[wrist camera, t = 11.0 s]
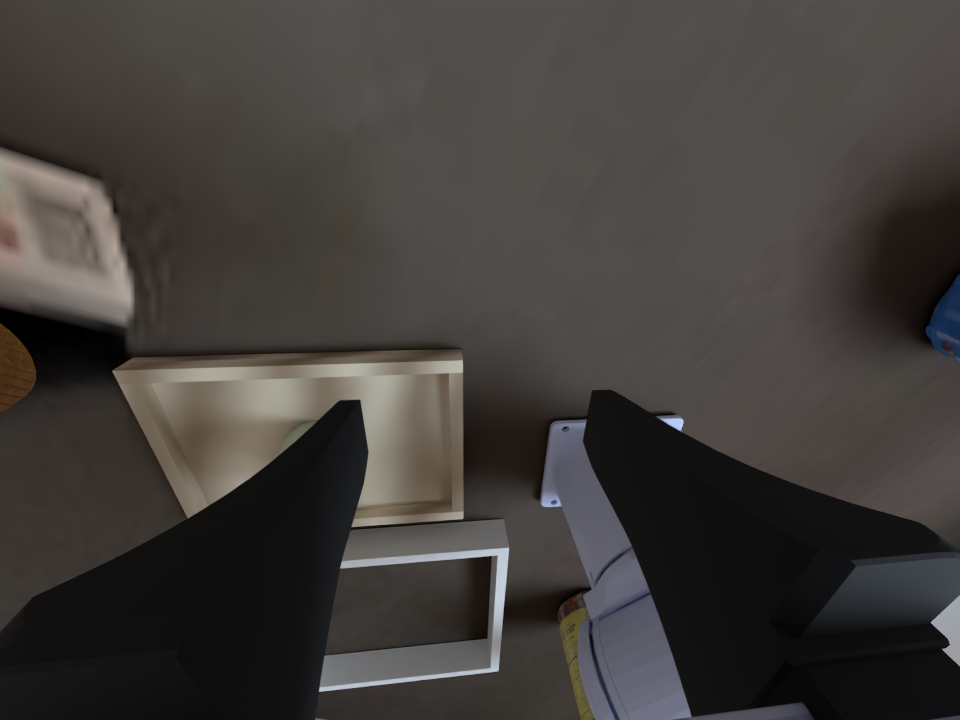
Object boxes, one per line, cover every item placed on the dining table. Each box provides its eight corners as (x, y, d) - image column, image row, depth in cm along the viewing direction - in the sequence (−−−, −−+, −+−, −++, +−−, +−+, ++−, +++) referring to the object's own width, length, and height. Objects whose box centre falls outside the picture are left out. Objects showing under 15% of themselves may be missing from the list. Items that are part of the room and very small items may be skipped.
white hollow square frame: (503, 519, 29) (508, 547, 27) (494, 641, 38) (498, 671, 36) (258, 536, 27) (242, 569, 25) (307, 661, 36) (299, 693, 34)
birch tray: (461, 348, 22) (462, 360, 20) (462, 502, 28) (463, 519, 26) (133, 357, 20) (112, 370, 19) (210, 519, 26) (198, 538, 25)
